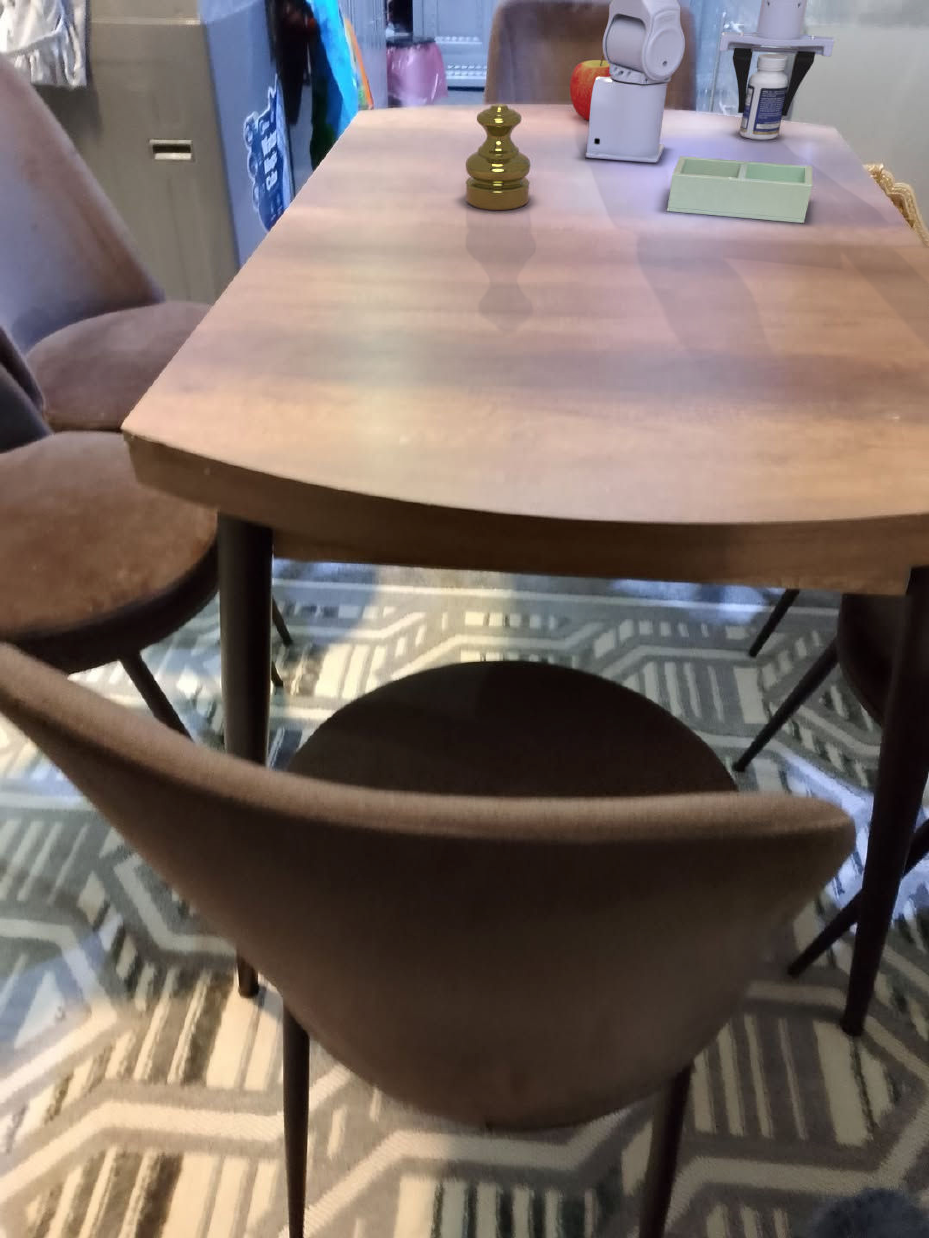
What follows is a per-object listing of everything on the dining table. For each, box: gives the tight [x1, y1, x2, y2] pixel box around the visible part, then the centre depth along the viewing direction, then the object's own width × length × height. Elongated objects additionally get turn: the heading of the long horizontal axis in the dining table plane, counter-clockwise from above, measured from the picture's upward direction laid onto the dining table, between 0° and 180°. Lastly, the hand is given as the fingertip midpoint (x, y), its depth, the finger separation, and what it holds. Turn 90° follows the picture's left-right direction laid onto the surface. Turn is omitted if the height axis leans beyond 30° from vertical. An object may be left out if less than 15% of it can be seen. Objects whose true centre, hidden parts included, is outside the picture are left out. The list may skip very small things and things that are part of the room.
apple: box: [569, 54, 611, 121], centre depth 133 cm, size 8×8×10 cm
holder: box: [666, 155, 813, 224], centre depth 104 cm, size 8×15×4 cm, turn 74°
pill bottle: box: [739, 53, 790, 141], centre depth 126 cm, size 5×5×10 cm
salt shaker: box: [465, 103, 531, 211], centre depth 103 cm, size 7×7×10 cm
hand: (762, 113), depth 127 cm, fingers closed on pill bottle, 5 cm apart
